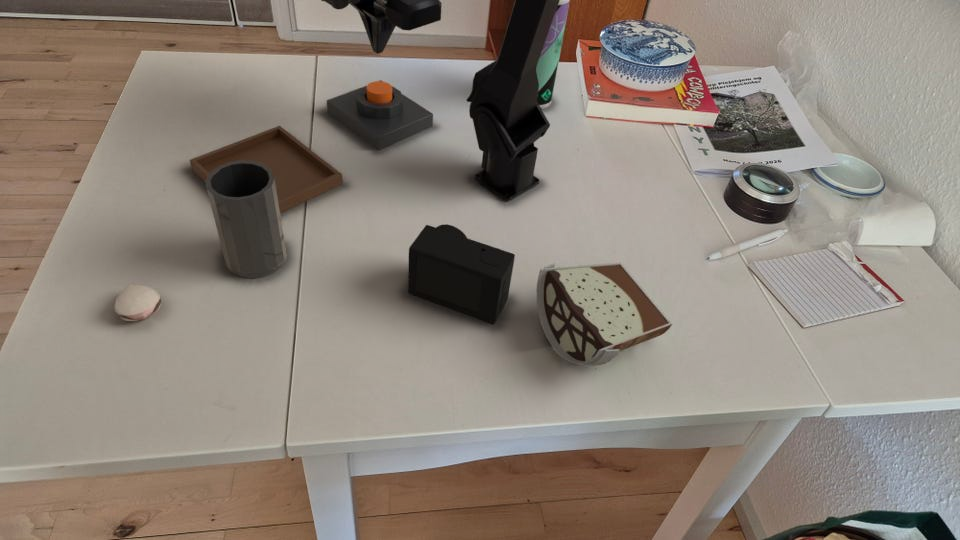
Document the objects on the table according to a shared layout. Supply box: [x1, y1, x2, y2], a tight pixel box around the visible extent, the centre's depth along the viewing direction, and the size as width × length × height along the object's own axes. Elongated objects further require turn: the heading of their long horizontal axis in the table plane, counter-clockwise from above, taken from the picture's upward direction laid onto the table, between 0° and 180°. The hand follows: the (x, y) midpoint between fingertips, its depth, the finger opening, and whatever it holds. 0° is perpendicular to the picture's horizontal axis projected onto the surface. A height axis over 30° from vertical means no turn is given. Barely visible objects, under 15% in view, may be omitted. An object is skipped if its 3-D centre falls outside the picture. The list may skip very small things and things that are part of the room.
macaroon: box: [113, 283, 162, 322], centre depth 68 cm, size 4×5×2 cm
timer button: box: [366, 80, 393, 104], centre depth 95 cm, size 4×4×2 cm
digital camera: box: [407, 223, 516, 325], centre depth 72 cm, size 10×5×7 cm, turn 68°
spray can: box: [536, 0, 571, 110], centre depth 99 cm, size 6×6×20 cm
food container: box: [535, 262, 673, 366], centre depth 70 cm, size 12×6×10 cm
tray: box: [189, 125, 344, 214], centre depth 85 cm, size 14×13×2 cm
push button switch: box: [326, 79, 434, 151], centre depth 96 cm, size 12×10×4 cm
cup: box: [205, 161, 287, 279], centre depth 72 cm, size 7×7×11 cm
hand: (378, 52), depth 91 cm, fingers closed
